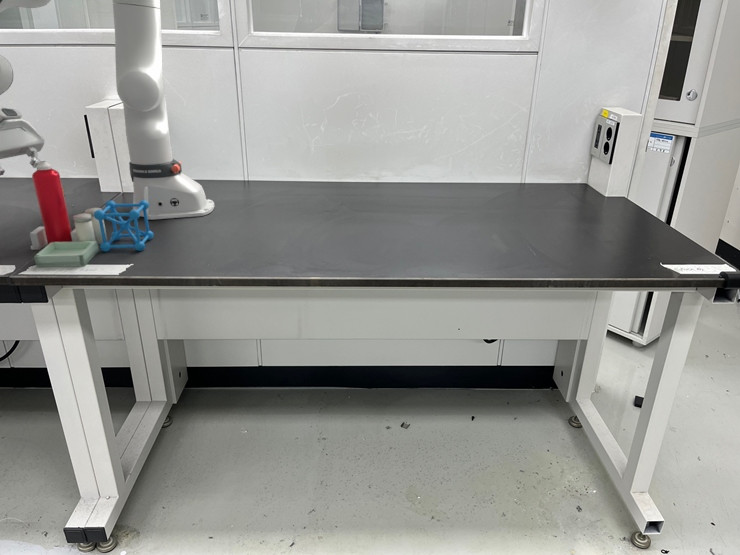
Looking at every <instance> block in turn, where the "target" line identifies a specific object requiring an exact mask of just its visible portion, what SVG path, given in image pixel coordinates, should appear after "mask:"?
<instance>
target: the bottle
mask: <svg viewBox="0 0 740 555" xmlns="http://www.w3.org/2000/svg"><path fill="white" fill-rule="evenodd" d="M40 161H41V162H39V164H38V165H37V166H36V167H37V168H36V170H35V171H34V172H33V173H32V175H31V177H32V181H33V186H34V191H35V195H36V200H37V204H38V208H39V211H40V216H41V221H42V226H43V227H44V230H45V234H46V238H47V242H48V244H50V243H51V242H73V241H72V237H71V232H72V231H73V230H72V228H71V226H72V225H71V222H70V218H69V217H70V216H69V212H68V208H67V203H66V199H65V197H64V195H65V194H64V193H65V192H63V189H64V188H63V184H62V180H61V175H60V173H59V171H58V170H56V169H53V167H52V164H50V163H48V162H47V161H46V160H43V161H42V160H40ZM62 188H63V189H62ZM48 244H47V245H48Z"/></svg>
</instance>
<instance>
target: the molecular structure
mask: <svg viewBox="0 0 740 555" xmlns="http://www.w3.org/2000/svg"><path fill="white" fill-rule="evenodd" d="M133 207H139V208H138V209H137V210H135V209H134V210H133V209H131V210H130V211H128V212H118V211H117V209H116V208H133ZM148 207H149V203H148V202H147V201H145V200H142V201H140V202H139V204H133V203H116V202H115V201H114V200H108V201H107V202H106V203H105V207H104V209H102V210H97V211H95V213H94V217H95V218H96V219H97V220H99V224H100V229H101V234H102V239H103V243H101V244H99V248H100V250H101V251H103V252H110V250H111V249H127V248H128V249H130V248H133V249H135V250H136V251H137V252H143V251H144V250H145V248H146V244H145V243H146V241H150V240H152V239H153V238H154V232H153V231H151V230H150V225H149V224H150V223H149V219H148V218H147V211H146V209H148ZM141 210H143V213H144V217H143V218H144V219H143V220H144V223H145V224H144V225H145V231H143V230H141V229H139V228H140V227H139V225H138V219H139V218H140V217H141V216H140V211H141ZM107 211H110V213H108V212H107ZM115 217H116V218H117V219H118V220H117V219H116V218H115ZM122 217H128V218H127V220H124V219H123V218H122ZM103 219H104V220H107V221H110V222H111V223H112V229H113V231H112V232H111V234H110V236H111V238H110V239H109V240H107V242H106V237H105V231H104V226H103V221H102V220H103ZM132 221H133V224H134V226H131V223H132ZM117 225H119V229H118V230H117ZM124 231H126V232H127V233H122V232H124ZM132 231H133V232H135V233H133V232H132ZM121 238H131V239H132V240H133V242H134V244H112V243H113V242H114V241H117V242H118V241H119V240H121ZM141 238H143V239H141Z"/></svg>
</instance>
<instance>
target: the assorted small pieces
mask: <svg viewBox="0 0 740 555" xmlns="http://www.w3.org/2000/svg"><path fill="white" fill-rule="evenodd" d="M97 210H103V208H101V207H92V208H91V207H89V208H86V209H85V210H84V213H77V214H75V215H73V216H72V220H73V222H74V227H75V228H74V229H73V230H71V231H72V232H71V237H72V241H73V242H51V243H50V244H48V242H47V238H46V234H45V230H44V226H38V227H37V228H35V229H34V230H32V231H31V232H30V233H29V236H30V240H31V244H32V245H30V249H31V250H32V251H35V250H36V251H38V250H39V252H37V253H36V254H35V255H34V256H33V259H34V262H35V266H36V268H53V267H55V268H56V267H57V268H58V267H62V268H63V267H86V266H87V265H88V263H89V262H91V260H92V259H93V258H94V257H95V256H96V255H97V254H98V253H99V252H100V251H99V245H101V243H103V239H102V234H101V229H100V224H99V220H97V219H96V218H95V217H94V213H95V211H97ZM102 221H103V226H104V231H105V237H106V242H108V236H107V232H106V231H107V230H106V226H105V219H103V220H102Z"/></svg>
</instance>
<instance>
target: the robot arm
mask: <svg viewBox="0 0 740 555" xmlns="http://www.w3.org/2000/svg"><path fill="white" fill-rule="evenodd" d="M51 1H52V0H0V13H2V12H3V11H5V10H7V9H11V8H25V9H37V8H42V7H45V6H47V5H48V4H49V3H50V2H51ZM112 10H113V12H112V13H113V25H114V38H115V39H114V45H115V47H114V48H115V52H114V53H115V55H114V56H115V59H114V60H115V81H116V82H115V83H116V85H115V86H116V93H117V95H118V98H119V99H120V101H121V102H122V105H123V106H122V107H123V114H124V122H125V123H124V125H125V136H126V142H127V149H128V153H129V159H130V161H129V163H128V164H129V174H130V175H129V176H130V179H131V182H132V184H133V185H132V186H133V201H132V202H133V203H132V204H139V202H140V201H142V200H145V201H147V202H148V203H149V207H148V209H146V211H147V218H148V221H149V220H163V219H175V218H177V219H179V218H180V219H181V218H193V217H202V216H207V215H208V214H210V213H212V212H213V211H214V209H215V202H214V201H213V200H212V199H209V198H208V199H207V197H206V193H205V191H204V188H203V186H202V185H201V184H200V183H199V182H197V181H196V180H194V179H192V178H191V177H189V176H188V175H186V174H184V173H183V172H182V161H181V160H180V161H178V160H176V159H174V157H173V152H172V150H173V149H172V142H171V136H170V135H171V134H170V126H169V117H168V109H167V99H166V92H165V84H164V72H163V39H162V38H163V37H162V36H163V35H162V17H161V16H162V13H161V0H112ZM13 82H14V71H13V67H12V64H11V63H10V62H9V60H8V59H7V58H5V56H2V55H0V96H1V95H3V94H4V93H5V92H7V91H8V90H9V88H11V85H12V84H13ZM22 116H23V115H22V113H21V111H20V110H18V109H16V108H10V107H9V108H7V107H2V106H0V160H2V159H3V160H4V159H8V158H9V159H10V158H13V157H18V156H23V155H26V156H27V157H28V158H29V157H30V158H31V159H30V161H29V165H30V166H32V168H34V169H37V167H36V166H37V165H38V164H39V162H41V161H42V160H41V159H40V158H39V155H38V152H41V150H42V149H43V148H44V146H45V138H44V137H43V135H41V133H40V132H39V131H38V130H37V129H36V127H34V125H32V123H30V121H28V120H27V119H24V118H22ZM5 173H6V172H5V169H4V168H3V166H2V165H1V164H0V176H4V174H5ZM138 208H139V207H132V210H134V209H135V210H137V209H138ZM140 217H143V218H144V213H143V210H141V211H140Z"/></svg>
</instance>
